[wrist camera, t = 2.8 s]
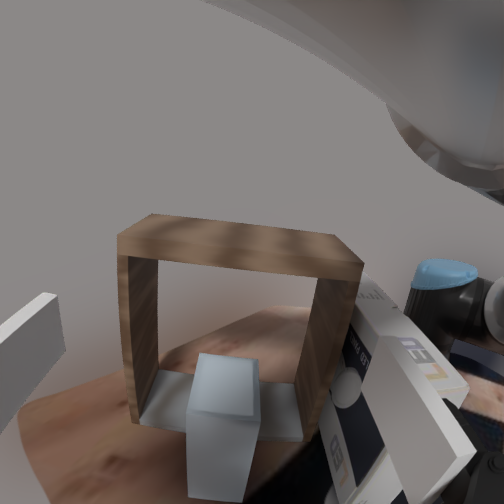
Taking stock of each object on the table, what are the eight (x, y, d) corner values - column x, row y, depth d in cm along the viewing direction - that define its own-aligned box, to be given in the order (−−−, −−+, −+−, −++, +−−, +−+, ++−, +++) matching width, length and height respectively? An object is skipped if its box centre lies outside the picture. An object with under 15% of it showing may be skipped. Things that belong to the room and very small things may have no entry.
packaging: (303, 369, 55) (326, 265, 49) (334, 370, 55) (362, 269, 49) (341, 515, 25) (418, 394, 20) (387, 507, 26) (472, 386, 20)
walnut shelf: (299, 388, 49) (334, 234, 42) (310, 441, 38) (364, 263, 30) (152, 372, 48) (151, 213, 41) (131, 422, 37) (117, 234, 29)
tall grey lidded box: (242, 447, 36) (258, 359, 32) (241, 502, 27) (260, 421, 23) (196, 442, 36) (199, 352, 31) (188, 497, 27) (185, 413, 23)
